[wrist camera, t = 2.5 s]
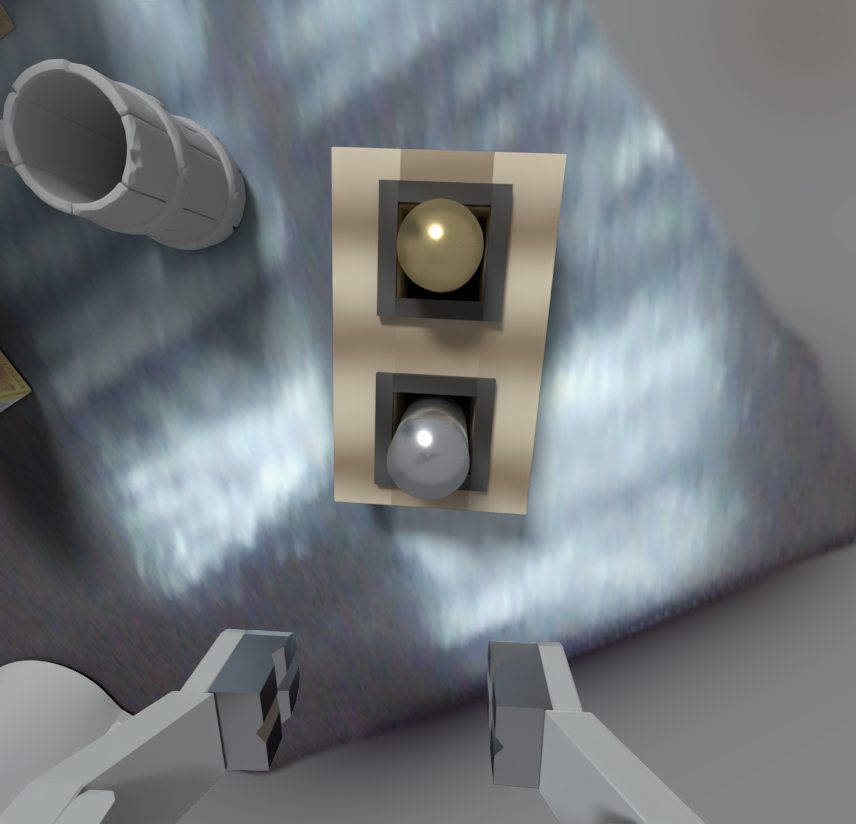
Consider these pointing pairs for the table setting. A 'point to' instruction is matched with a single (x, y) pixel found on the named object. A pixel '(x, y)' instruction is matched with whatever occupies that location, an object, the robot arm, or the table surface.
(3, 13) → the planter
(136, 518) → the table surface
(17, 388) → the candy box
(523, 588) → the table surface
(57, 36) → the table surface
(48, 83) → the mug
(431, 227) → the peg
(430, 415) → the peg
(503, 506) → the socket block
